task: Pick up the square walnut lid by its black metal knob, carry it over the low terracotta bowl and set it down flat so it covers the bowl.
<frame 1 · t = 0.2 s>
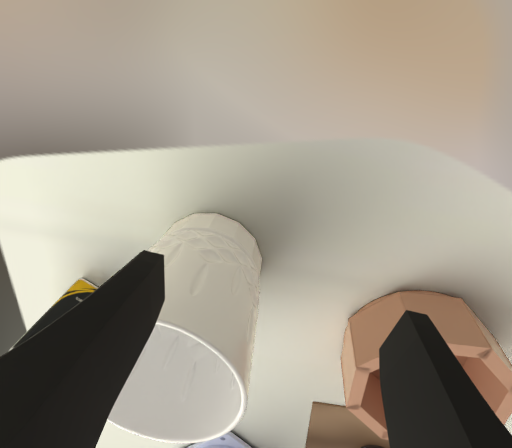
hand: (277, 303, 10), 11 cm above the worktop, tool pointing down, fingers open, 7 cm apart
lid: (371, 445, 31), on the worktop
medicine bottle: (107, 323, 27), on the worktop
bowl: (410, 341, 24), on the worktop
white cup: (213, 254, 23), on the worktop
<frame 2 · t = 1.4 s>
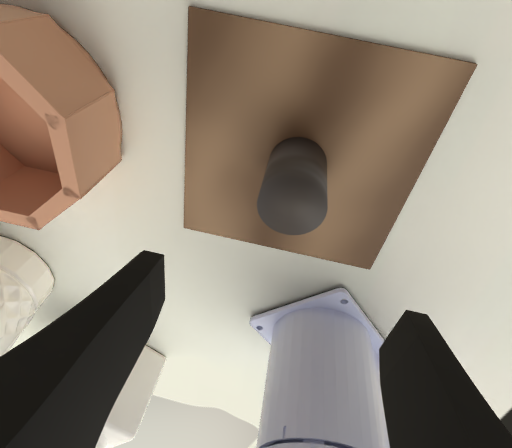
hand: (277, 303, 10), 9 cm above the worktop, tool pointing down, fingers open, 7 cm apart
lid: (298, 157, 18), on the worktop
medicine bottle: (120, 348, 32), on the worktop
bowl: (38, 106, 18), on the worktop
white cup: (16, 264, 27), on the worktop
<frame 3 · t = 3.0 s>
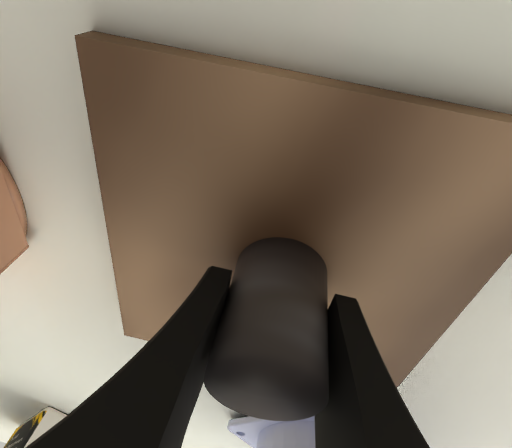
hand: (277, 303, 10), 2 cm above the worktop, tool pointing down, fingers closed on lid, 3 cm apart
lid: (283, 256, 12), on the worktop, touching gripper
medicine bottle: (75, 432, 27), on the worktop
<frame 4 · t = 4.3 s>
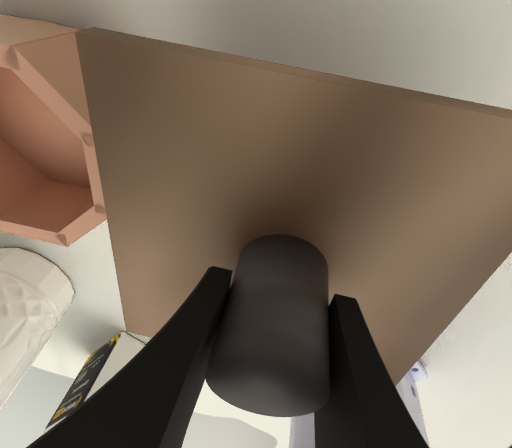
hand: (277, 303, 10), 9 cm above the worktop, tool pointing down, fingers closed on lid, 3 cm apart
lid: (284, 253, 12), point 7 cm above the worktop, touching gripper
medicine bottle: (138, 359, 32), on the worktop
bowl: (65, 120, 18), on the worktop
white cup: (36, 276, 27), on the worktop
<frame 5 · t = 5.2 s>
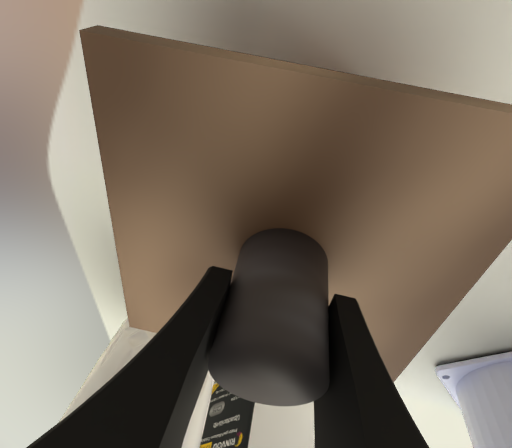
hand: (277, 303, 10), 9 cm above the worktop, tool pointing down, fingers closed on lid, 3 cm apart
lid: (284, 247, 12), point 6 cm above the worktop, touching gripper
medicine bottle: (262, 388, 32), on the worktop
white cup: (184, 309, 26), on the worktop
when the fingers open (7 cm above the worktop, at t = 5.8 s): lid stays where it is, resting on bowl.
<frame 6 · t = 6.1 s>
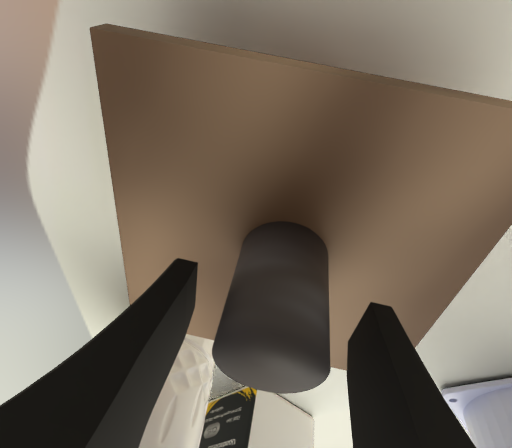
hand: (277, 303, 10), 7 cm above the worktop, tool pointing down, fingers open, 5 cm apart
lid: (286, 241, 12), point 4 cm above the worktop, touching bowl
medicine bottle: (259, 406, 30), on the worktop
white cup: (176, 327, 25), on the worktop
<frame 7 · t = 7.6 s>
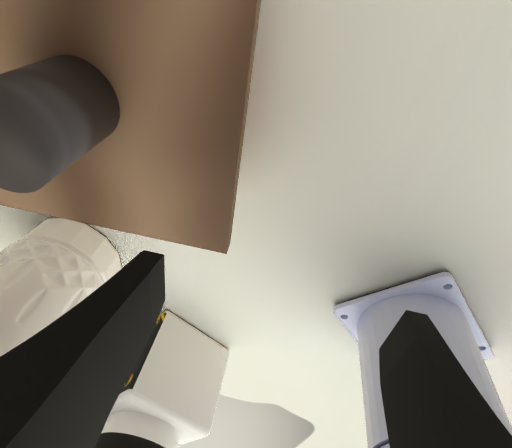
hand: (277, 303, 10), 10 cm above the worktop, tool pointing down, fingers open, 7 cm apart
lid: (91, 93, 13), point 4 cm above the worktop, touching bowl
medicine bottle: (178, 341, 31), on the worktop
white cup: (80, 250, 25), on the worktop
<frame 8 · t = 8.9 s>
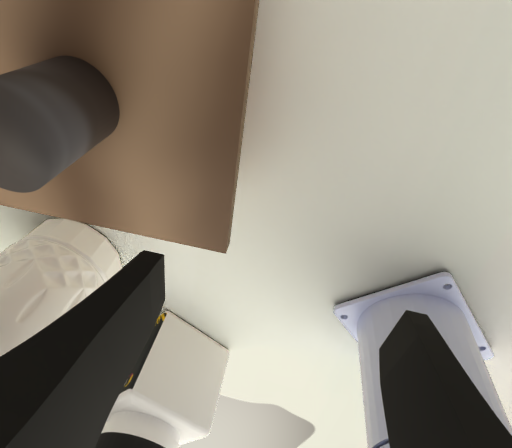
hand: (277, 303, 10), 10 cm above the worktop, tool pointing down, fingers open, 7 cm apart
lid: (91, 94, 13), point 4 cm above the worktop, touching bowl
medicine bottle: (179, 341, 31), on the worktop
white cup: (81, 251, 26), on the worktop
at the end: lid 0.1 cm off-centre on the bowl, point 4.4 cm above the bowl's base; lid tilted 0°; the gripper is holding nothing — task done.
